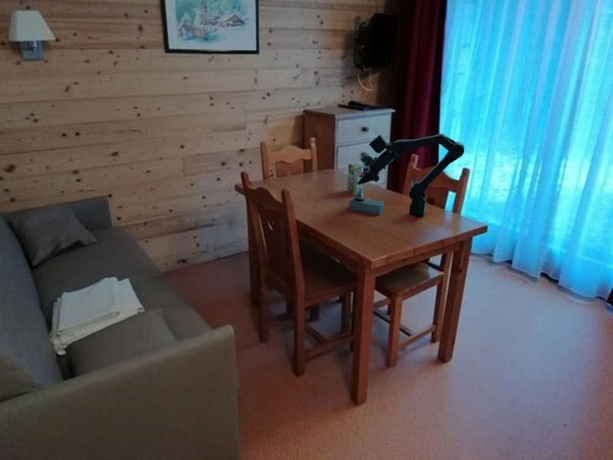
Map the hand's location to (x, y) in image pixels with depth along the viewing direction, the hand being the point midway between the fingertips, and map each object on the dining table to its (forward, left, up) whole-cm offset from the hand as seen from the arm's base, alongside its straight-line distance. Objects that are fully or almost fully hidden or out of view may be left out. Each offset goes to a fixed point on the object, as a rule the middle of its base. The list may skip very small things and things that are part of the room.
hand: (357, 183), depth 214 cm
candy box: (+10, -24, -13) cm, 29 cm away
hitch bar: (-5, -1, -13) cm, 14 cm away
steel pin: (-1, -1, -7) cm, 7 cm away
